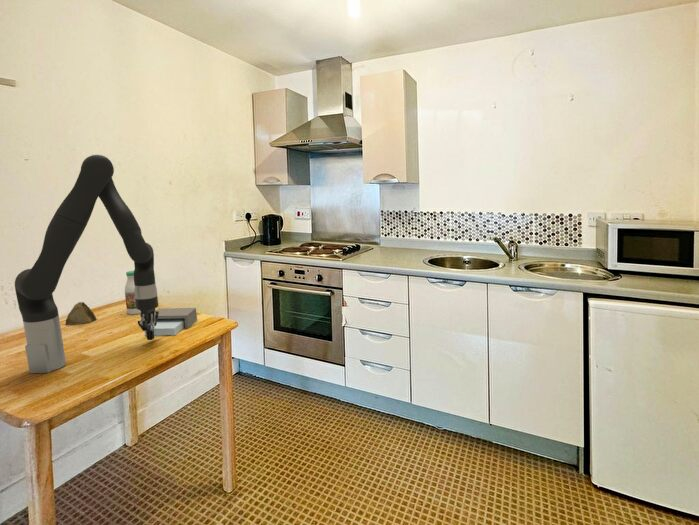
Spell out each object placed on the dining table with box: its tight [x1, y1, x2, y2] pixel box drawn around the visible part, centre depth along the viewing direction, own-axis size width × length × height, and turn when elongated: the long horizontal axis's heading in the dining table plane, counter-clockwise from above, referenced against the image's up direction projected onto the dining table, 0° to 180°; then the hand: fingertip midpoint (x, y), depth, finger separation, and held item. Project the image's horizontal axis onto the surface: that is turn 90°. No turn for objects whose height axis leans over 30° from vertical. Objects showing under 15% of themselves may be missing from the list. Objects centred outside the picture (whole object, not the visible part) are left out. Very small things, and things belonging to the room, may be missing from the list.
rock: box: [65, 301, 98, 325], centre depth 174 cm, size 11×9×10 cm
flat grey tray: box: [144, 318, 185, 337], centre depth 165 cm, size 16×12×3 cm
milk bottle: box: [124, 270, 141, 315], centre depth 186 cm, size 8×8×20 cm
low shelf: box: [155, 307, 198, 329], centre depth 170 cm, size 11×16×6 cm, turn 92°
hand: (150, 339), depth 151 cm, fingers closed
